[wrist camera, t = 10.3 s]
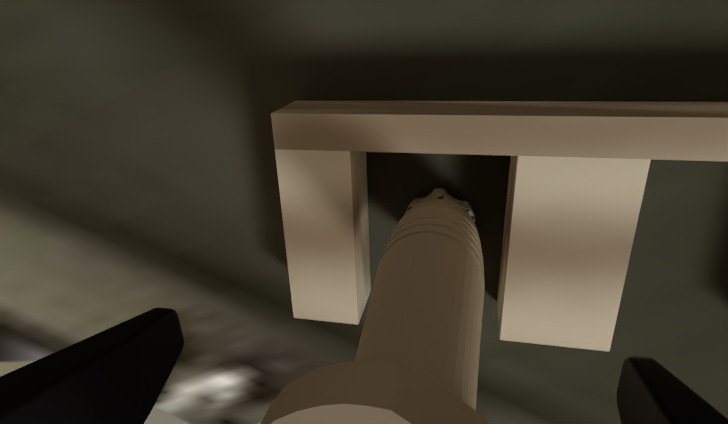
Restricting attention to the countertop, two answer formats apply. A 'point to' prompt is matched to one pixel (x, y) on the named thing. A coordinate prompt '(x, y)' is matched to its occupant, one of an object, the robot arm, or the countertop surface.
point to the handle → (408, 332)
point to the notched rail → (523, 205)
